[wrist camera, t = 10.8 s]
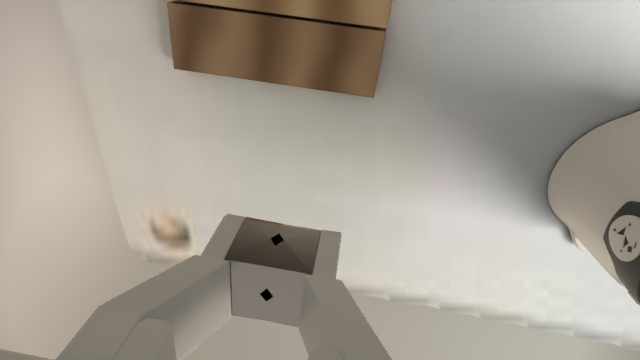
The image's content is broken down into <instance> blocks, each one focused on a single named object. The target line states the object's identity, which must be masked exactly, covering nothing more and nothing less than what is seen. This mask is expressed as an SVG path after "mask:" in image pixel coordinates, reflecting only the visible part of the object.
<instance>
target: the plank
mask: <svg viewBox="0 0 640 360" xmlns="http://www.w3.org/2000/svg"><path fill="white" fill-rule="evenodd" d="M179 1H186V2H194V3H201V4H208V5H216V6H223V7H231V8H238V9H246V10H253V11H261V12H268V13H276V14H283V15H291V16H298V17H305V18H313V19H320V20H328V21H335V22H343V23H350V24H358V25H365V26H373V27H380V28H387V24H388V19H389V13H390V8H391V3H392V0H179Z"/></svg>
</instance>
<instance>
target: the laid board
mask: <svg viewBox="0 0 640 360" xmlns="http://www.w3.org/2000/svg"><path fill="white" fill-rule="evenodd" d="M167 5H168V15H169V24H170V33H171V43H172V52H173V62H174V69H180V70H187V71H194V72H201V73H207V74H214V75H221V76H228V77H235V78H242V79H249V80H256V81H262V82H269V83H276V84H283V85H290V86H297V87H304V88H311V89H317V90H324V91H331V92H338V93H345V94H352V95H359V96H366V97H372V98H374V93H375V87H376V82H377V77H378V72H379V66H380V61H381V56H382V50H383V45H384V40H385V34H386V29H382V28H374V27H367V26H359V25H352V24H344V23H337V22H330V21H322V20H315V19H307V18H300V17H292V16H285V15H277V14H270V13H262V12H255V11H247V10H240V9H233V8H225V7H218V6H210V5H203V4H195V3H188V2H180V1H172V2H168V3H167Z"/></svg>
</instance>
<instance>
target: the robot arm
mask: <svg viewBox="0 0 640 360" xmlns="http://www.w3.org/2000/svg"><path fill="white" fill-rule="evenodd" d="M548 199H549V203H550V206H551V208H552V210H553V212H554V213H555V214H556V216H557V217H558V218H559V219H560V220H561V221H562V222H563V223H564V224H566V226H567V227H568V228H569V231H570V236H571V239H572V241H573V243H574V244H575V245H576V247H577V248H578V249H579V250H581V251H585V252H590V253H591V254H592V255H593V256H594V258H595V259H596V260H597V261H598V262H599V263H600V264H601V265H602V266H603V267H604V268H605V269H606V271H607V272H608V273H609V274H610V275H611V276H612V277H613V278H614V279H615V280H616V281H617V282H618V283H619V284H621V285H622V286H624V287H626V288H627V290H628V293H629V295H630V296H631V297H632V298H633V299H634V301H635V302H636V303H637V304H638V305H640V110H639V111H637V112H635V113H632V114H630V115H627V116H624V117H621V118H618V119H615V120H613V121H610V122H608V123H605V124H603V125H601V126H599V127H597V128H595V129H594V130H592V131H590V132H589V133H587V134H586V135H584V136H583V137H581V138H580V139H579V140H577V141H576V142H575V143H574V144H573V145H572V146H571V147H570V148H569V149H568V150H567V151H566V152H565V153H564V154H563V155H562V157H561V158H560V159H559V161H558V162H557V164H556V165H555V167H554V169H553V171H552V174H551V176H550V179H549V184H548ZM340 242H341V233H340V232H334V231H327V230H322V231H321V230H317V229H311V228H305V227H298V226H292V225H286V224H281V223H276V222H270V221H265V220H260V219H254V218H249V217H242V216H237V215H231V214H227V215H226V216H224V217H223V219H222V221H221V222H220V224H219V226H218V228H217V229H216V231H215V233H214V234H213V236H212V238H211V239H210V241H209V243H208V244H207V246H206V248H205V249H204V251H203V253H202V254H201V256H197V255H194V256H192V257H190V258H188V259H186V260H185V261H183V262H181V263H179V264H177V265H175V266H173V267H172V268H170V269H168V270H166V271H164V272H162V273H160V274H159V275H156V276H155V277H153V278H151V279H149V280H147V281H145V282H143V283H141V284H140V285H138V286H136V287H134V288H132V289H130V290H128V291H126V292H125V293H123V294H121V295H119V296H117V297H115V298H113V299H111V300H110V301H108V302H106V303H104V304H102V305H100V306H99V307H98V308H97V309H96V310H95V311H94V313H93V314H92V315H91V317H90V318H89V319H88V320H87V321H86V323H85V324H84V325H83V326H82V328H81V329H80V330H79V332H78V333H77V334H76V335H75V337H74V338H73V339H72V340H71V341H70V343H69V344H68V345H67V346H66V348H65V349H64V350H63V351H62V352H61V354H60V355H59V356H58V358H57V359H56V360H183V359H184V358H185V357H187V356H188V355H189V354H190V353H191V352H192V351H193V350H194V349H196V348H197V347H198V346H199V345H200V344H201V343H203V342H204V341H205V340H206V339H207V338H208V337H209V336H211V335H212V334H213V333H214V332H215V331H216V330H217V329H219V328H220V327H221V326H222V325H223V324H224V323H225V322H227V321H228V320H229V319H230V318H231V315H234V316H241V317H247V318H254V319H261V320H266V321H271V322H276V323H281V324H285V325H290V326H295V327H299V330H300V333H301V336H302V339H303V341H304V344H305V346H306V350H307V352H308V355H309V357H308V360H392V359H391V358H390V356H389V355H388V353H387V351H386V350H385V348H384V347H383V345H382V344H381V342H380V341H379V339H378V337H377V336H376V334H375V332H374V331H373V329H372V328H371V326H370V325H369V323H368V322H367V320H366V318H365V317H364V315H363V313H362V312H361V311H360V309H359V307H358V306H357V304H356V302H355V301H354V299H353V298H352V296H351V295H350V293H349V291H348V290H347V288H346V287H345V285H344V283H343V282H342V281H341V280H336V273H337V265H338V257H339V249H340ZM0 360H52V359H48V358H43V357H38V356H33V355H27V354H22V353H17V352H12V351H7V350H2V349H0Z"/></svg>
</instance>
